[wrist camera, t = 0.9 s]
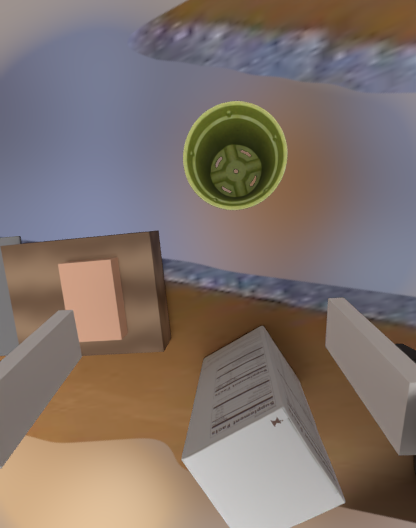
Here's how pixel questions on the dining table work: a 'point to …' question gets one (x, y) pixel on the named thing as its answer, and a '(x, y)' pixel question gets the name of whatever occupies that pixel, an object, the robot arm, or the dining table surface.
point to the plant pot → (235, 155)
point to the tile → (94, 298)
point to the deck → (59, 251)
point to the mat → (6, 306)
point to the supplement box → (257, 439)
